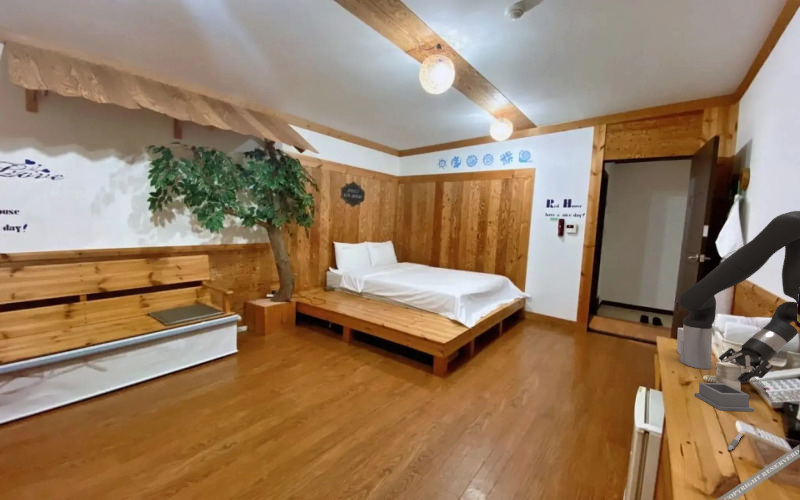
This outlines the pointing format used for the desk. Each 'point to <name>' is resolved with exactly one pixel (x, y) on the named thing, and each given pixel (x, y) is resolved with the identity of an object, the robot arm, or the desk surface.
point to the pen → (734, 442)
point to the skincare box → (679, 339)
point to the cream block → (728, 374)
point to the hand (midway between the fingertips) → (728, 376)
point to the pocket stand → (724, 397)
